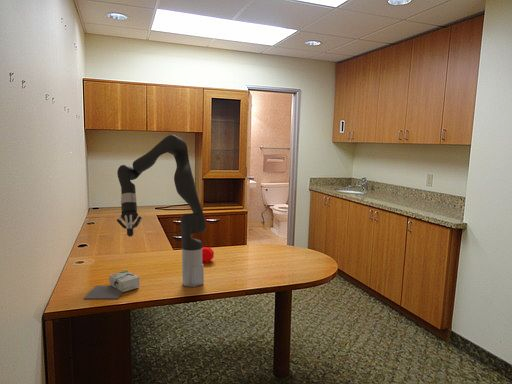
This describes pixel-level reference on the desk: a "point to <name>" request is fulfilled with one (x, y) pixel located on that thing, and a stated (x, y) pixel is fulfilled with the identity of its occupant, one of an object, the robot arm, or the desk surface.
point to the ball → (207, 254)
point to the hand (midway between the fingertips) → (130, 236)
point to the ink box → (124, 281)
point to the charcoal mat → (104, 293)
